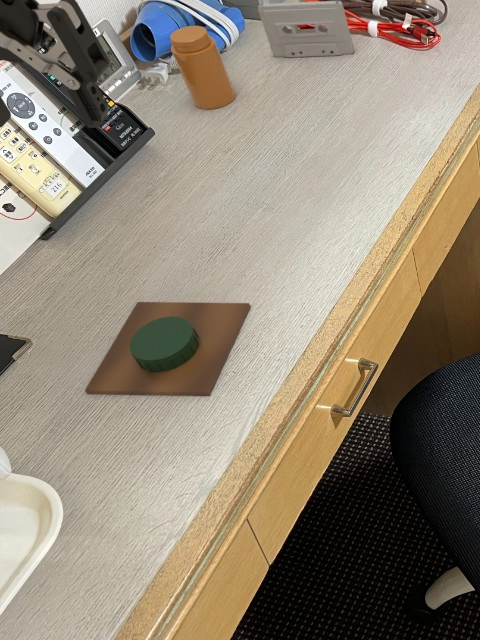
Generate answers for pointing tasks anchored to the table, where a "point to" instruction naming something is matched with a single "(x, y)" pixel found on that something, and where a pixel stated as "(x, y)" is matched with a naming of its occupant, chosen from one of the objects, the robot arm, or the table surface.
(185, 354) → the lid
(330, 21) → the cassette
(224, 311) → the coaster
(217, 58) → the jar
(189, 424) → the table surface
